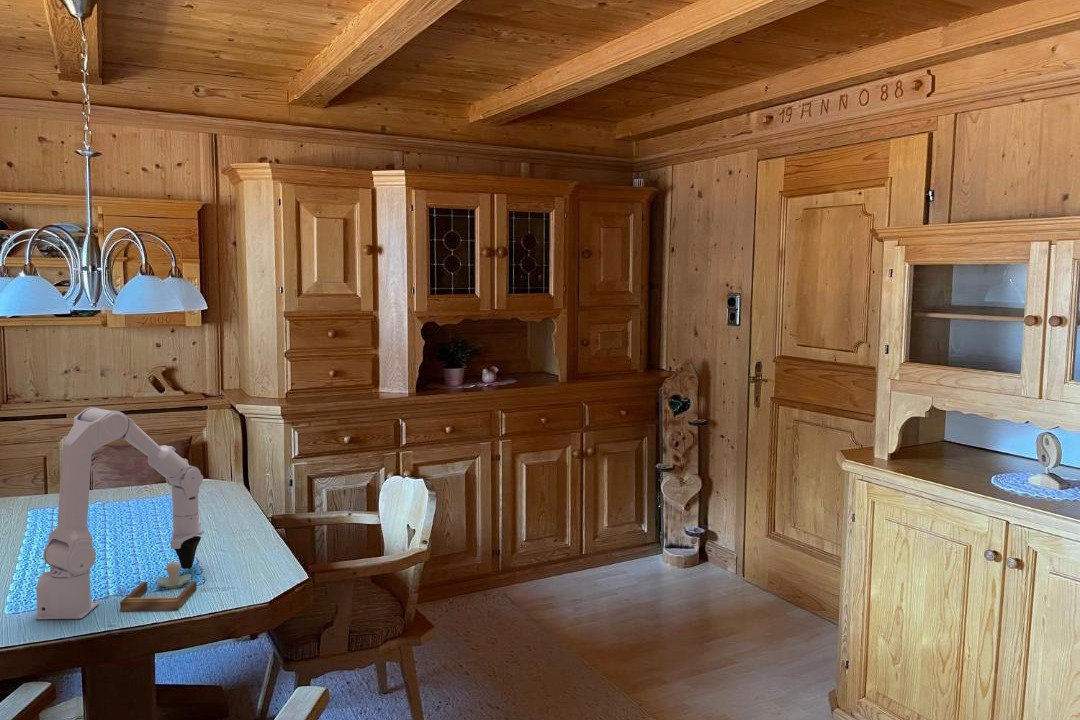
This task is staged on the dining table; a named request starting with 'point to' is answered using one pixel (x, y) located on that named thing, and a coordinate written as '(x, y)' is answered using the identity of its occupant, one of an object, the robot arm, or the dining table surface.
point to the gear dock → (155, 600)
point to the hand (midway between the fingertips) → (187, 567)
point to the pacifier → (173, 577)
